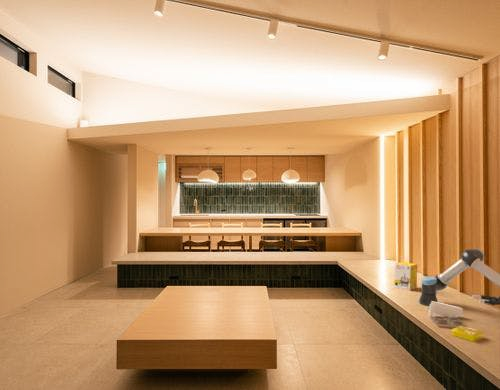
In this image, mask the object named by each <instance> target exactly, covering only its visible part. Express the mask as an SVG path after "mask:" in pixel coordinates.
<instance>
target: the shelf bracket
mask: <svg viewBox="0 0 500 390" xmlns="http://www.w3.org/2000/svg"><path fill="white" fill-rule="evenodd" d="M428 310H429V312H428V315H427V316H428V318H429V317H430V318H431V316H432V317H433V315H434V314H435V315H437V316H443V317H445V318H449V317H454V318H456V317H459V318H460V317H461V318H462V316H463V313H464V309H463V308H462V307H460V306H455V305H451V304H447V303H442V302H434V301H431V304H430V306H428Z"/></svg>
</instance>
